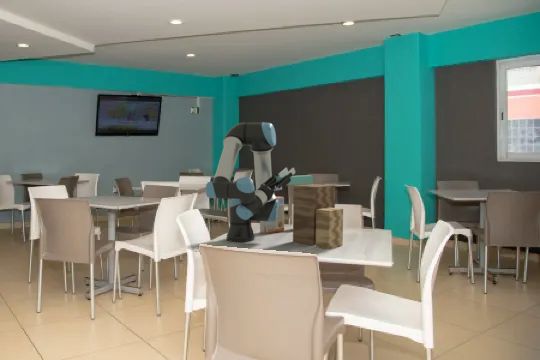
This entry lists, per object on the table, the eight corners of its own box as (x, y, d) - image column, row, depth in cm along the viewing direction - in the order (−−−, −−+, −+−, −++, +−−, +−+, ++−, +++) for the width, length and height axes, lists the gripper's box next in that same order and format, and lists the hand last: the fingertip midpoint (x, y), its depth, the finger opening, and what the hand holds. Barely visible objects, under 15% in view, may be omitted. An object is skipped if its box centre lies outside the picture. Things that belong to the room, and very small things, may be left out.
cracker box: (278, 230, 294) (279, 196, 292) (284, 232, 289) (284, 197, 287) (259, 232, 286) (259, 197, 285) (264, 234, 281) (264, 198, 280)
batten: (282, 185, 236) (282, 177, 236) (276, 184, 239) (276, 176, 238) (312, 183, 253) (313, 175, 253) (306, 182, 256) (307, 175, 256)
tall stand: (313, 245, 249) (314, 187, 247) (292, 241, 259) (293, 185, 257) (334, 240, 262) (335, 185, 260) (313, 237, 272) (314, 184, 270)
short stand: (328, 249, 240) (329, 210, 239) (315, 246, 245) (316, 209, 244) (342, 245, 249) (343, 208, 247) (329, 243, 254) (330, 207, 253)
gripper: (252, 201, 236) (280, 175, 250) (277, 203, 225) (306, 177, 238) (246, 188, 233) (275, 163, 247) (272, 190, 222) (301, 164, 235)
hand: (290, 170), depth 243 cm, fingers closed on batten, 4 cm apart
